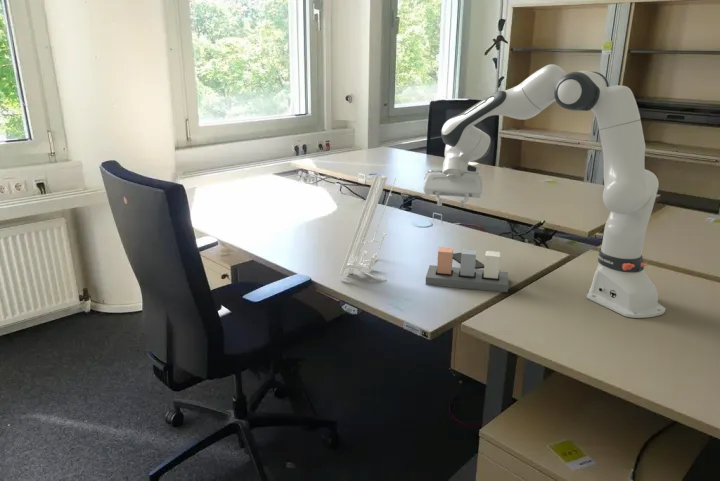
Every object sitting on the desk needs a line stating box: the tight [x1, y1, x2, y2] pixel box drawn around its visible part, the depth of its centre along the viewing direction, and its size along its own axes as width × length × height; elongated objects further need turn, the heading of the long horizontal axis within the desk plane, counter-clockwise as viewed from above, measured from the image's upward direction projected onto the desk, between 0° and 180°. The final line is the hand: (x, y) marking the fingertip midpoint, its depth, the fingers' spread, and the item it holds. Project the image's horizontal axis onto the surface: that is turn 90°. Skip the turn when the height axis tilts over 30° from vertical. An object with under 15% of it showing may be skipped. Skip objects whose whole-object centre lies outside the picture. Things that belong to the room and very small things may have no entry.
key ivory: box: [483, 250, 501, 279], centre depth 172 cm, size 4×4×8 cm
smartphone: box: [453, 252, 485, 269], centre depth 194 cm, size 7×1×15 cm
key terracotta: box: [436, 246, 454, 274], centre depth 175 cm, size 4×4×8 cm
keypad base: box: [425, 264, 509, 293], centre depth 175 cm, size 26×11×2 cm, turn 76°
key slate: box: [459, 248, 477, 276], centre depth 174 cm, size 4×4×8 cm
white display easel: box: [339, 175, 397, 281], centre depth 180 cm, size 24×14×35 cm, turn 148°
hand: (450, 205), depth 182 cm, fingers open, 6 cm apart
